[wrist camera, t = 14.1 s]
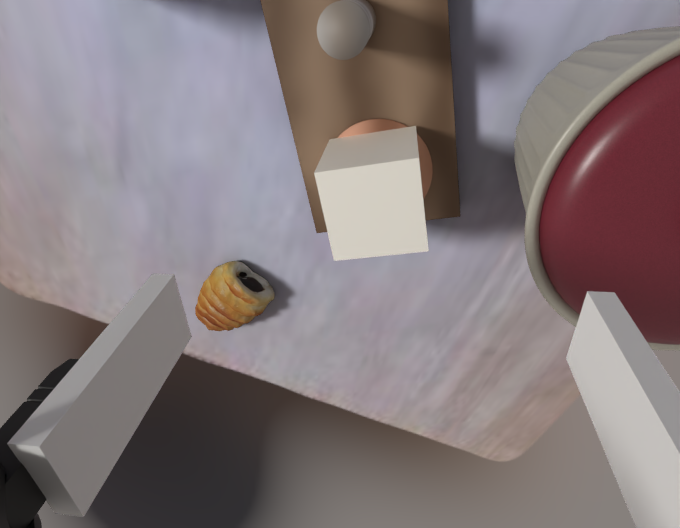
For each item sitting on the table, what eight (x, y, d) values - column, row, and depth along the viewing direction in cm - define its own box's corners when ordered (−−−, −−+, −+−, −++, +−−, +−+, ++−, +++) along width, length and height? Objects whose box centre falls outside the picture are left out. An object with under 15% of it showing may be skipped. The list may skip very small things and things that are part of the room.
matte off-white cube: (329, 139, 37) (314, 172, 30) (415, 125, 35) (418, 157, 29) (345, 216, 40) (334, 260, 34) (424, 206, 39) (428, 251, 32)
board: (440, -75, 30) (455, -97, 22) (457, 206, 41) (472, 264, 33) (260, -31, 33) (211, -36, 25) (320, 223, 44) (300, 281, 35)
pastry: (233, 332, 53) (221, 355, 50) (185, 298, 51) (170, 319, 48) (281, 287, 49) (272, 309, 45) (231, 248, 47) (218, 267, 43)
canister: (647, 244, 41) (834, 445, 23) (452, 202, 41) (490, 371, 23) (788, 22, 31) (1302, 76, 13) (532, -32, 31) (705, -50, 13)
